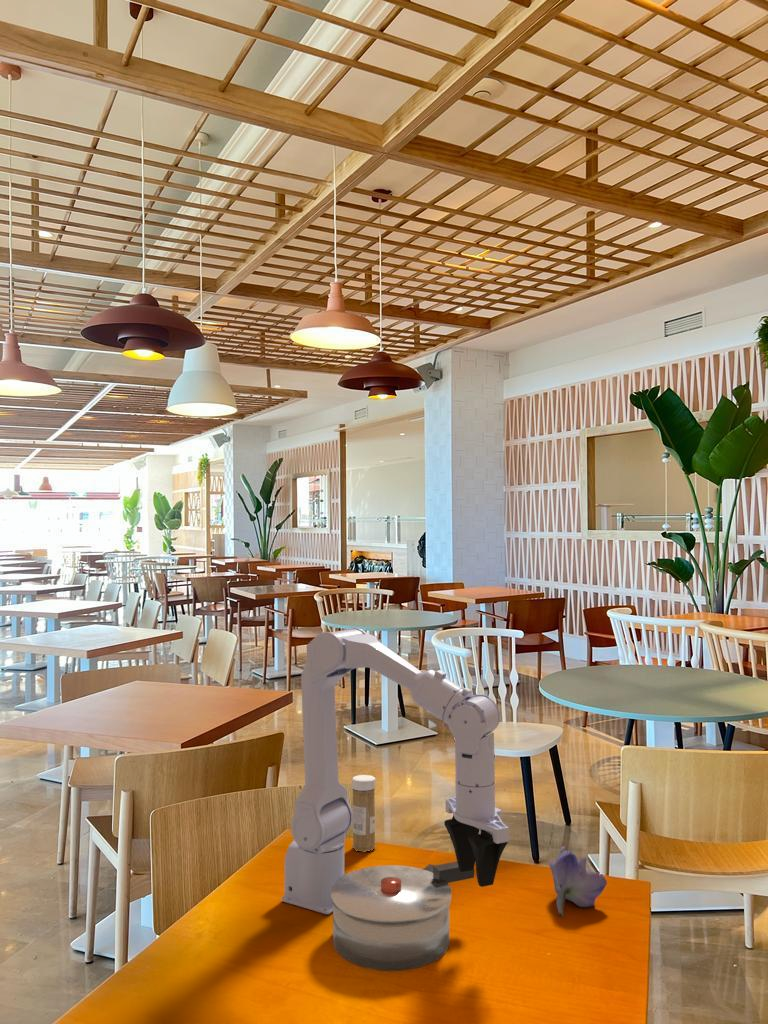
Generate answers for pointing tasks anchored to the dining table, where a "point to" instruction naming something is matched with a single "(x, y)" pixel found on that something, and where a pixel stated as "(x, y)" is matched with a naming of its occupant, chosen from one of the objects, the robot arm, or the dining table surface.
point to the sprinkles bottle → (363, 812)
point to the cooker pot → (391, 941)
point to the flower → (575, 881)
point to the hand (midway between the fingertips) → (476, 877)
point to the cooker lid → (396, 892)
